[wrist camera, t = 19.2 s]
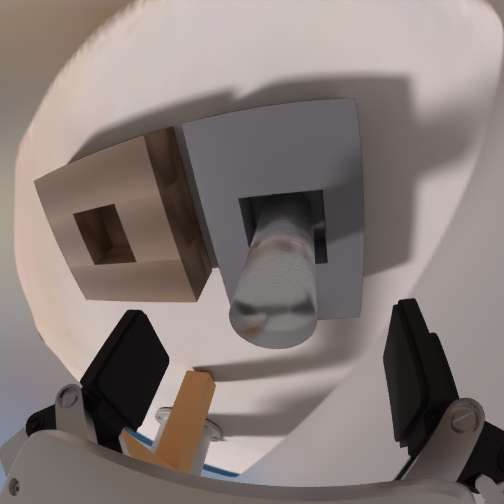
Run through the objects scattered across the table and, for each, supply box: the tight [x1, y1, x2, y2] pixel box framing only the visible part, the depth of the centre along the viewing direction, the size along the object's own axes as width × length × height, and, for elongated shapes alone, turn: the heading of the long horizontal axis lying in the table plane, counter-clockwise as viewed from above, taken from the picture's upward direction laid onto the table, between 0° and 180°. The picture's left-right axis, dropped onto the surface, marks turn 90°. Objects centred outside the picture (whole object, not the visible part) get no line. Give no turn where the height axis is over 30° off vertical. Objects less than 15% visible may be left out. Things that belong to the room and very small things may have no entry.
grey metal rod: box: [229, 192, 317, 349], centre depth 14 cm, size 3×3×10 cm
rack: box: [182, 98, 364, 320], centre depth 17 cm, size 14×9×4 cm, turn 11°
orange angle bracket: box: [122, 371, 216, 474], centre depth 23 cm, size 14×4×15 cm, turn 11°
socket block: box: [34, 127, 212, 302], centre depth 20 cm, size 12×12×4 cm
